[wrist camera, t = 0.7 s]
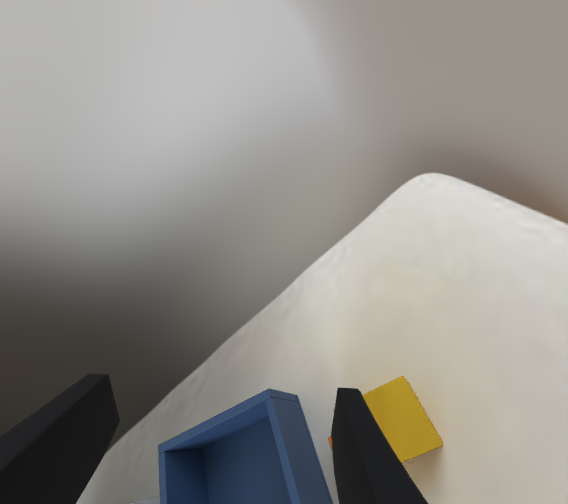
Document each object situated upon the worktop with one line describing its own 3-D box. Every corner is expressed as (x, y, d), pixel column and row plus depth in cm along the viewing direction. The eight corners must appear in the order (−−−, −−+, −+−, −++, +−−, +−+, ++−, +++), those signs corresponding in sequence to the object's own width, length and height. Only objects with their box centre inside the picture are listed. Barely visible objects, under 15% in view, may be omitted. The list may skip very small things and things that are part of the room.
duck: (443, 443, 19) (442, 446, 15) (362, 478, 20) (339, 490, 16) (408, 381, 21) (398, 369, 17) (337, 415, 22) (311, 411, 18)
